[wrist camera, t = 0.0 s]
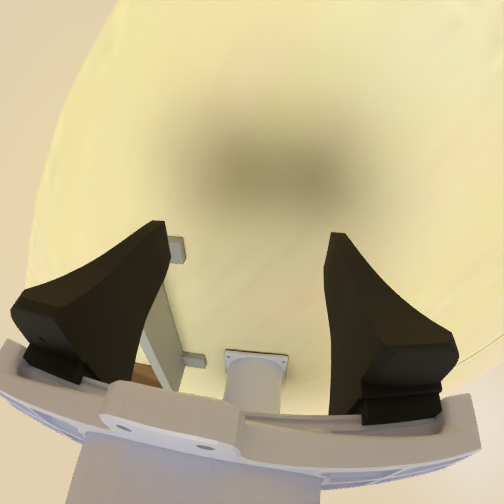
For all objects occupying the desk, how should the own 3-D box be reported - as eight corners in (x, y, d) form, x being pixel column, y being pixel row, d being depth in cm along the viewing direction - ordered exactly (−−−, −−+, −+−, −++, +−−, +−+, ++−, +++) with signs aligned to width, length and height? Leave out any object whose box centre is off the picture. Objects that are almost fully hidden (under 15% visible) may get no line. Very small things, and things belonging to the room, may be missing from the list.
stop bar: (175, 375, 43) (169, 396, 39) (120, 363, 43) (113, 382, 40) (173, 370, 42) (167, 392, 38) (117, 358, 42) (109, 378, 39)
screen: (206, 364, 39) (198, 402, 34) (176, 360, 39) (166, 396, 35) (181, 234, 25) (158, 282, 21) (137, 232, 26) (108, 275, 21)
